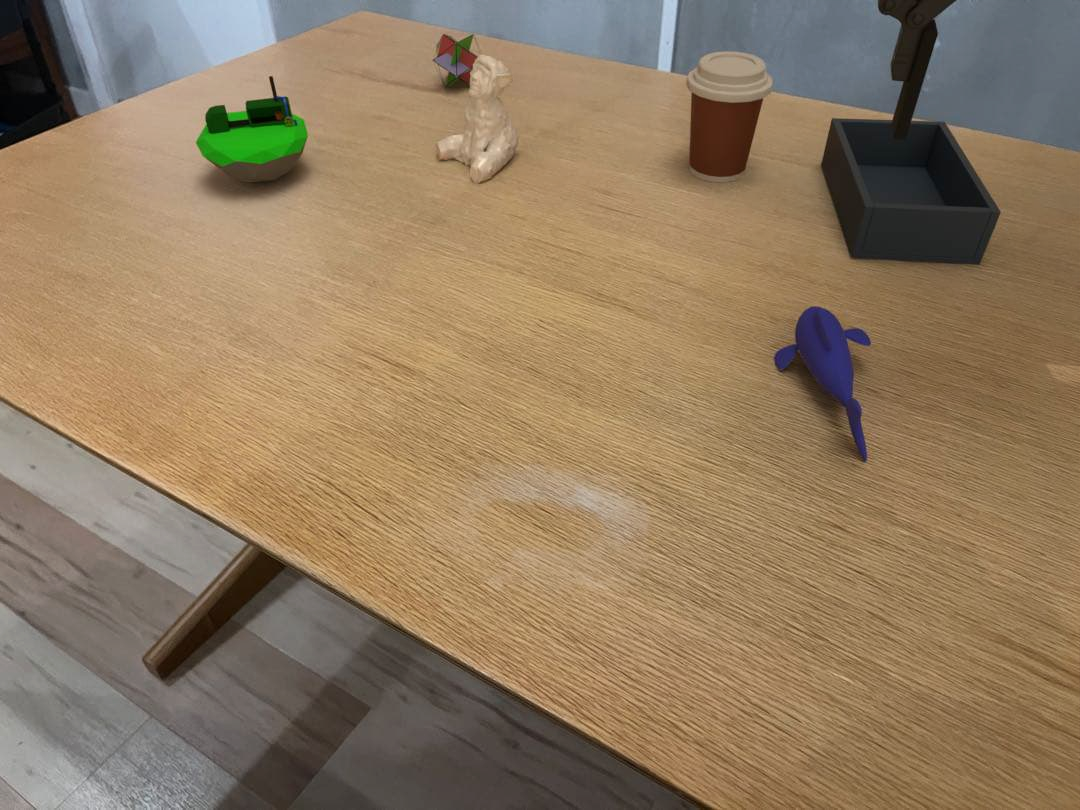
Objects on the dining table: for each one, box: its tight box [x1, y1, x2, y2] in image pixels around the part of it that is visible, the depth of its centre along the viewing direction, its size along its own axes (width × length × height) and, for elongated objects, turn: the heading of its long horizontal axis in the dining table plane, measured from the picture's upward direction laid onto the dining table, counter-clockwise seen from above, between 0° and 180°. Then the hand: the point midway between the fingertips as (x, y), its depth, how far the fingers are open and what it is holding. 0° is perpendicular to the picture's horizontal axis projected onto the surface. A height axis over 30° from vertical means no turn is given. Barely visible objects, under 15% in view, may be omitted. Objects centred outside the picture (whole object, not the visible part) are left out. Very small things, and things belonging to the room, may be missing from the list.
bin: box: [820, 117, 1002, 265], centre depth 85 cm, size 12×20×6 cm, turn 174°
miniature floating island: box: [195, 75, 309, 183], centre depth 91 cm, size 12×12×11 cm
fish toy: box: [774, 306, 872, 463], centre depth 63 cm, size 15×8×7 cm, turn 0°
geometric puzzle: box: [431, 33, 483, 89], centre depth 112 cm, size 7×7×8 cm
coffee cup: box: [685, 50, 774, 183], centre depth 90 cm, size 9×9×12 cm
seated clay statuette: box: [435, 53, 520, 184], centre depth 93 cm, size 10×9×12 cm
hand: (1010, 143), depth 52 cm, fingers open, 13 cm apart
